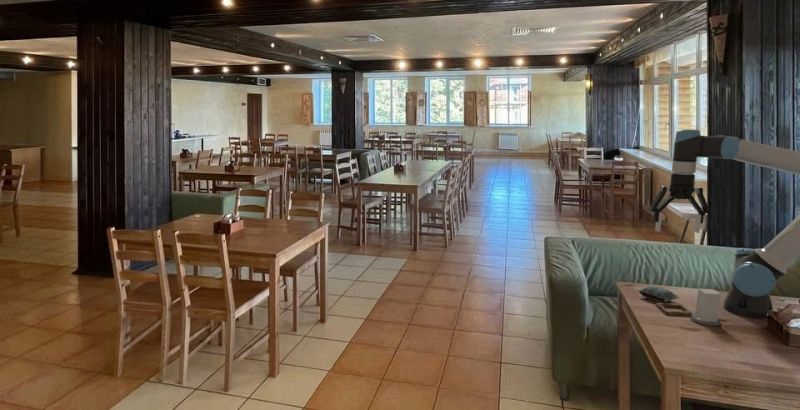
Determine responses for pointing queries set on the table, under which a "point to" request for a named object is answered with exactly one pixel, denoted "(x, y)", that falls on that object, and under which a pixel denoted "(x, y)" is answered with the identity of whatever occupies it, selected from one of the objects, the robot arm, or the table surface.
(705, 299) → the grey block
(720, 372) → the table surface
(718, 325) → the grey disc
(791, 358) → the table surface
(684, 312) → the walnut holder
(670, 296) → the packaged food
